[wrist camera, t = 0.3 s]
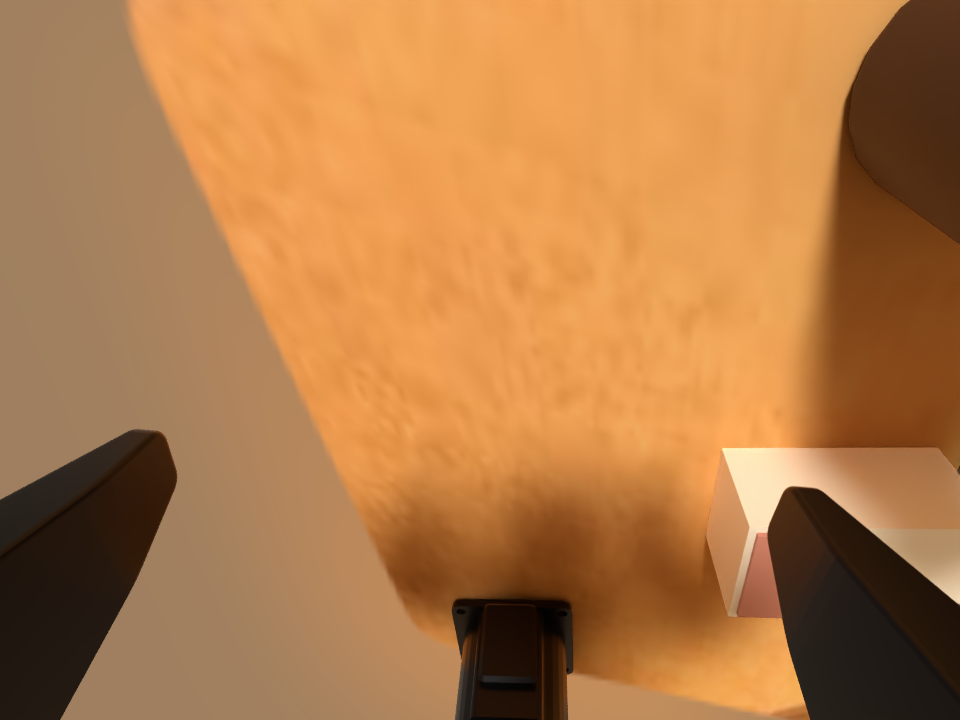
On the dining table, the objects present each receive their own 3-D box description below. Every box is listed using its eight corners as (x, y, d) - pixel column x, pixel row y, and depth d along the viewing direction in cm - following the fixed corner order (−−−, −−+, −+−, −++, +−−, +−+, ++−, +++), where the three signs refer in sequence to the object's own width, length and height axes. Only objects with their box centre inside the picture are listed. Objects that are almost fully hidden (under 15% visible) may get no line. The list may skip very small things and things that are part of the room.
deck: (895, 534, 29) (950, 627, 25) (704, 532, 30) (728, 620, 26) (935, 444, 26) (1006, 534, 22) (720, 445, 27) (751, 531, 23)
